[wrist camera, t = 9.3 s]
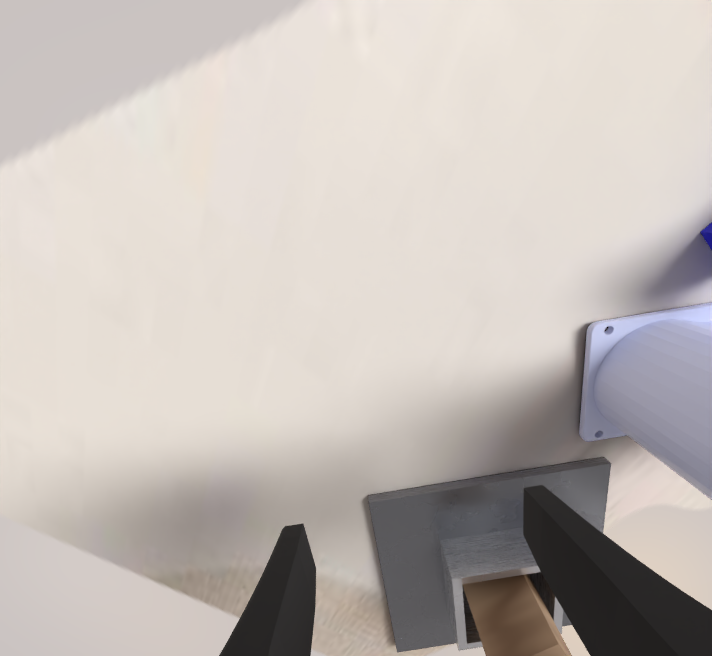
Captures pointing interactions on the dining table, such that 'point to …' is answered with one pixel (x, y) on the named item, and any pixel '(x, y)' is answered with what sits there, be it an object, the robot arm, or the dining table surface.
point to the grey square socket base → (469, 545)
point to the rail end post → (513, 618)
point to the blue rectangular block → (708, 235)
